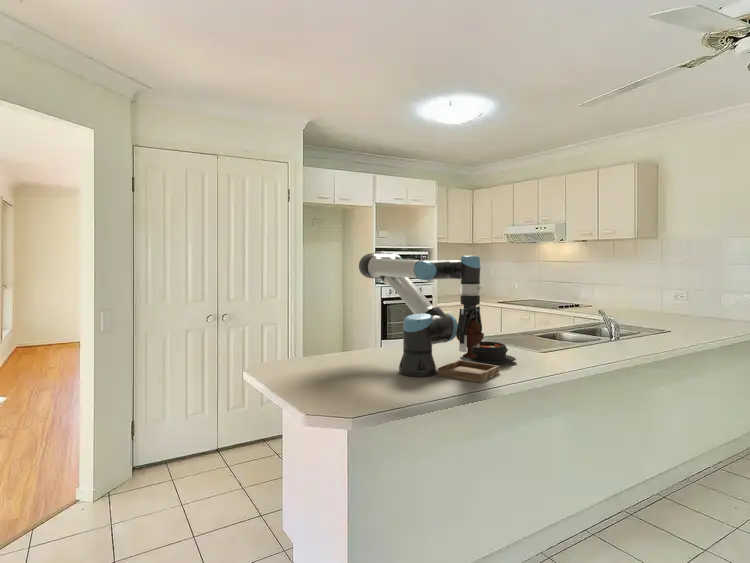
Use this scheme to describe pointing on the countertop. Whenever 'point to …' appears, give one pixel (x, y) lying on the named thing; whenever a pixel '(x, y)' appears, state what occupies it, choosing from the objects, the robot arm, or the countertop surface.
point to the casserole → (490, 353)
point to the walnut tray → (468, 370)
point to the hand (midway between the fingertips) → (469, 349)
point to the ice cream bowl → (472, 337)
